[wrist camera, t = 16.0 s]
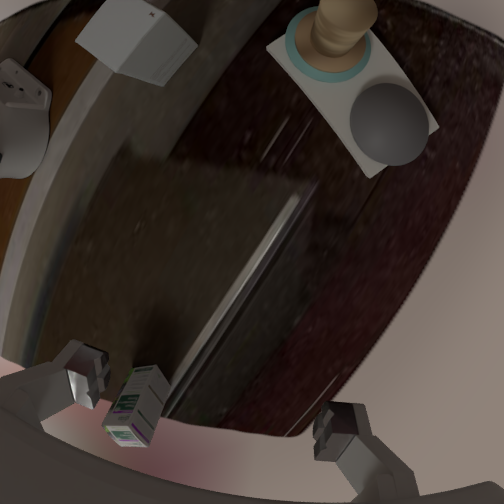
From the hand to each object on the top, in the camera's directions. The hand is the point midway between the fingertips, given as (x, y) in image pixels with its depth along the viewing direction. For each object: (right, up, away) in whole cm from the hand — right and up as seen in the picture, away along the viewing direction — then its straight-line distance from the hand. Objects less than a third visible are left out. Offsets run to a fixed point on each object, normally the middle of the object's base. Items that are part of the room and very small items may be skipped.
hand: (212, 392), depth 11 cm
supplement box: (-10, +30, +23) cm, 40 cm away
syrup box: (-16, -17, +41) cm, 48 cm away
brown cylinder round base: (+10, +29, +19) cm, 36 cm away
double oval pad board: (+14, +25, +23) cm, 37 cm away
